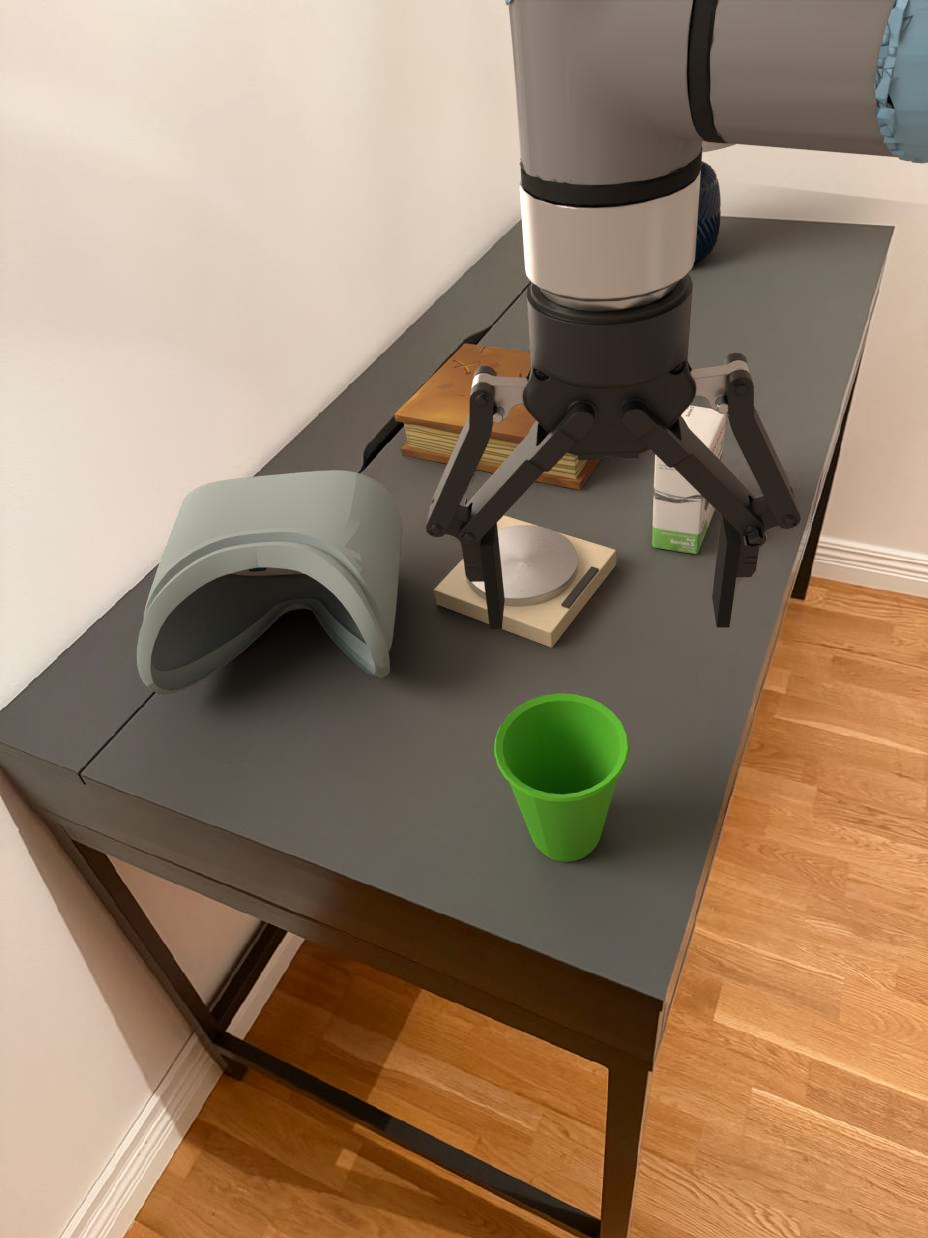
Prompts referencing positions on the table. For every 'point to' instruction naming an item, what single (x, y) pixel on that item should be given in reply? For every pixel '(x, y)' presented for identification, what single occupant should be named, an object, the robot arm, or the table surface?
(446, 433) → the diary
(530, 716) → the cup
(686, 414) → the ink box
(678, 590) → the table surface
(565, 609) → the scale
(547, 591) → the scale pan
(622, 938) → the table surface
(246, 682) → the table surface
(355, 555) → the grey arched shell
